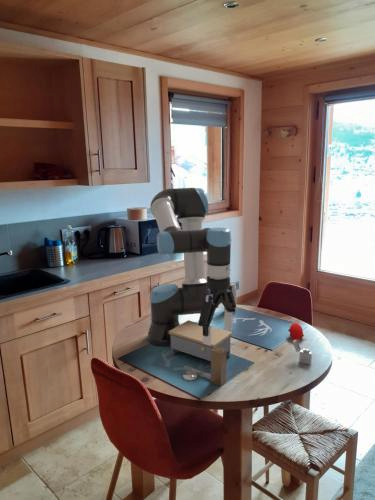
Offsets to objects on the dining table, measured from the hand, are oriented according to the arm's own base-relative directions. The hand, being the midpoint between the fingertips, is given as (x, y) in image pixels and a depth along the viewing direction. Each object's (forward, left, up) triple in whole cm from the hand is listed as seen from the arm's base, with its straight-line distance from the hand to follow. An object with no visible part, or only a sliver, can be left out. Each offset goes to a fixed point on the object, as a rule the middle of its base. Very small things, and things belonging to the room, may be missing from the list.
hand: (218, 336), depth 129 cm
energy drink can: (-28, +58, -17) cm, 67 cm away
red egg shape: (+10, +48, -17) cm, 52 cm away
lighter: (+19, +30, -17) cm, 39 cm away
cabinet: (-15, +12, -17) cm, 26 cm away
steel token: (-10, -3, -17) cm, 20 cm away
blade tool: (-6, 0, -17) cm, 18 cm away
